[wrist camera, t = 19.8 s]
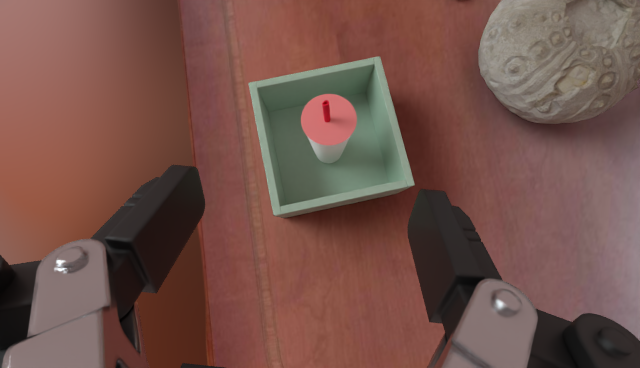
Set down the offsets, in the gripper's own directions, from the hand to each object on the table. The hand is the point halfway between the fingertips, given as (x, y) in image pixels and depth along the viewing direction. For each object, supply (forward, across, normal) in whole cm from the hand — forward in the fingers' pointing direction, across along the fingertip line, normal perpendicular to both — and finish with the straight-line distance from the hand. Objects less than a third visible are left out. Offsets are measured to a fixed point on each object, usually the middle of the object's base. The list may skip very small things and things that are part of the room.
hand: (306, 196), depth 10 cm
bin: (+24, -1, +12) cm, 27 cm away
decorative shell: (+34, -27, +2) cm, 43 cm away
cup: (+23, -1, +11) cm, 26 cm away
